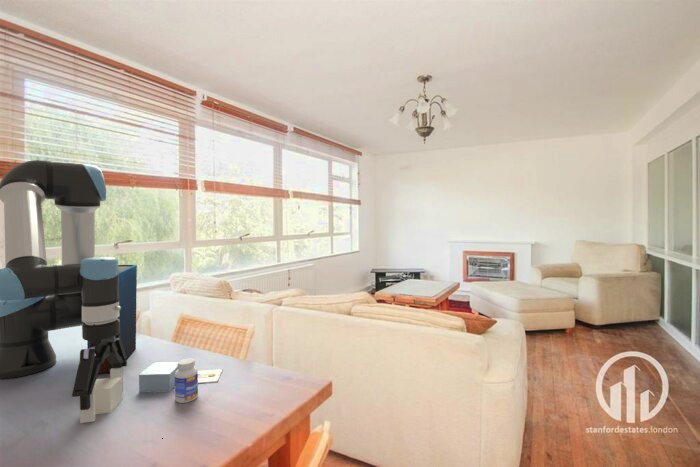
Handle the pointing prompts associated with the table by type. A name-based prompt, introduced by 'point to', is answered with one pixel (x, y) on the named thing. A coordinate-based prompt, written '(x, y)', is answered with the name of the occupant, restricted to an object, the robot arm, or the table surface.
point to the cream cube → (107, 394)
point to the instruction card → (209, 376)
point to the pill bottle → (186, 381)
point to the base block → (158, 377)
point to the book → (125, 311)
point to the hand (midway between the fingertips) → (103, 406)
